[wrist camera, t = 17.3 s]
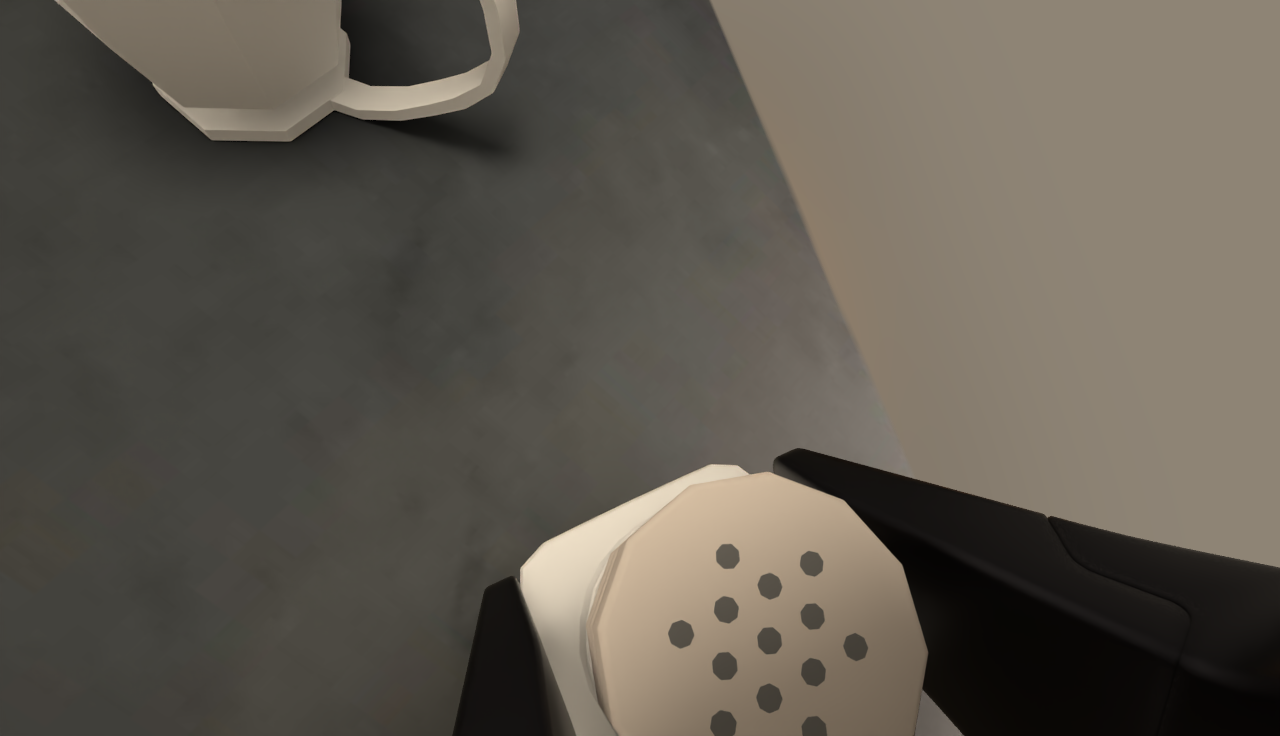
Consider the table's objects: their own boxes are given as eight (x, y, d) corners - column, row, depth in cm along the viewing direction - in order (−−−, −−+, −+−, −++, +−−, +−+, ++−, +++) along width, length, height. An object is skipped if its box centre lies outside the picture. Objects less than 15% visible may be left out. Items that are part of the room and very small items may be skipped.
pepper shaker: (516, 579, 15) (484, 534, 6) (674, 503, 16) (837, 373, 7) (591, 760, 14) (677, 1009, 5) (753, 667, 15) (1052, 744, 6)
